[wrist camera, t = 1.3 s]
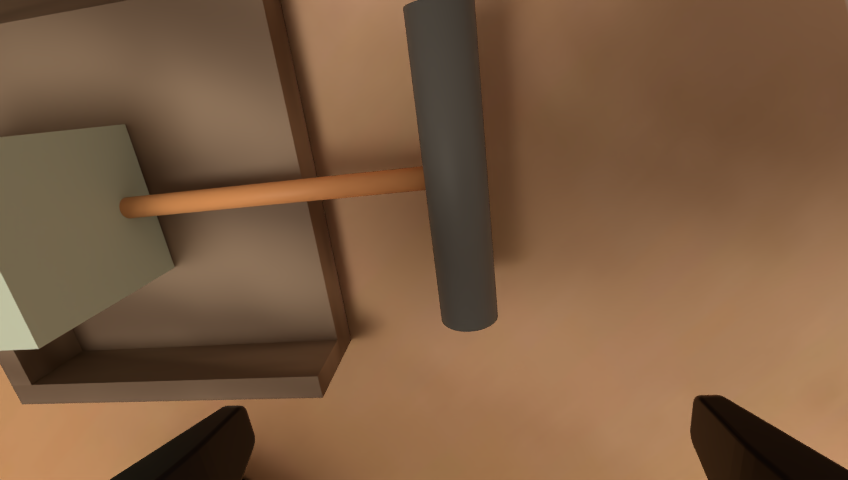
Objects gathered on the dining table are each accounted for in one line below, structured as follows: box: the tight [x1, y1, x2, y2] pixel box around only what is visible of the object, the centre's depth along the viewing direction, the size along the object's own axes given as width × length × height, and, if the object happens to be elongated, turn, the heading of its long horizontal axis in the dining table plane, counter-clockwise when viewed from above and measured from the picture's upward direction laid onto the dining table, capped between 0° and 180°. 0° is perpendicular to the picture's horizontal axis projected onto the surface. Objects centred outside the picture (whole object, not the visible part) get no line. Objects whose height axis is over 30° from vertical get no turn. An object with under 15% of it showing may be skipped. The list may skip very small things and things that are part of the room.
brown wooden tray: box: [0, 0, 351, 404], centre depth 17 cm, size 16×14×4 cm
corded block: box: [0, 0, 498, 351], centre depth 14 cm, size 10×20×6 cm, turn 97°
